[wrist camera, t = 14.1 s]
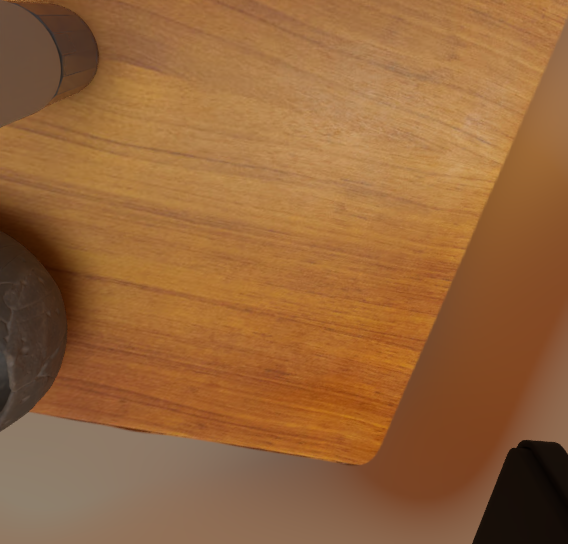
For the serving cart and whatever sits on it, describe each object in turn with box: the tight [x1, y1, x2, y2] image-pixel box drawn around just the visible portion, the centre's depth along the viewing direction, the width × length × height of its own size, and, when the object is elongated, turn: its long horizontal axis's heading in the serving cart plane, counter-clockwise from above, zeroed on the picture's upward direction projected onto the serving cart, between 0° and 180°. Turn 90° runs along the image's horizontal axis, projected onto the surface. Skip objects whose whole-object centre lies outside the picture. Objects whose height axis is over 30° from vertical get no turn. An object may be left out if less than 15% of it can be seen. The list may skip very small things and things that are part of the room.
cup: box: [7, 1, 98, 107], centre depth 36 cm, size 6×6×8 cm
